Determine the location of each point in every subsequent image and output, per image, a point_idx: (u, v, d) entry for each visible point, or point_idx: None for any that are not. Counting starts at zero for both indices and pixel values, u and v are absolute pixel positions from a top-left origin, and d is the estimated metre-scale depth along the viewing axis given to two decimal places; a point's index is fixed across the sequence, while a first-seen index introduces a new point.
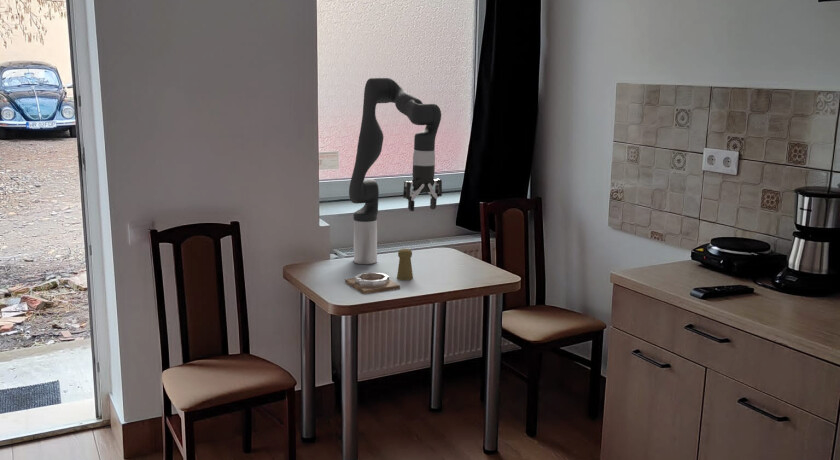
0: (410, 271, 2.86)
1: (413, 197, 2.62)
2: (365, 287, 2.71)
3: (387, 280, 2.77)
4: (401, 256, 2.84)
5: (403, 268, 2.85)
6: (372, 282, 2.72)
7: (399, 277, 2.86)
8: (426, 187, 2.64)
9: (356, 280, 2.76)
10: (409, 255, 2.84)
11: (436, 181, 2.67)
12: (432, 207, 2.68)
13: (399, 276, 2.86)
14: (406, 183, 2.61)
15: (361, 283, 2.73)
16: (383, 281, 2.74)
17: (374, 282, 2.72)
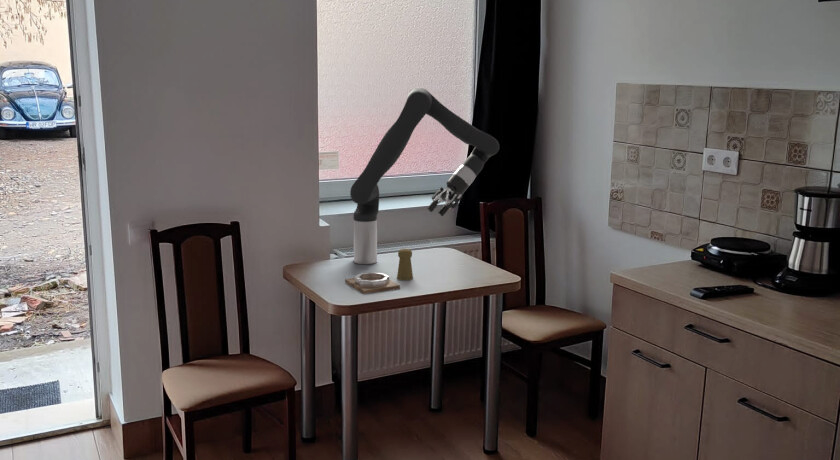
0: (410, 271, 2.86)
1: None
2: (365, 287, 2.71)
3: (387, 280, 2.77)
4: (401, 256, 2.84)
5: (403, 268, 2.85)
6: (372, 282, 2.72)
7: (399, 277, 2.86)
8: None
9: (356, 280, 2.76)
10: (409, 255, 2.84)
11: None
12: (431, 210, 2.92)
13: (399, 276, 2.86)
14: (460, 196, 2.84)
15: (361, 283, 2.73)
16: (383, 281, 2.74)
17: (374, 282, 2.72)
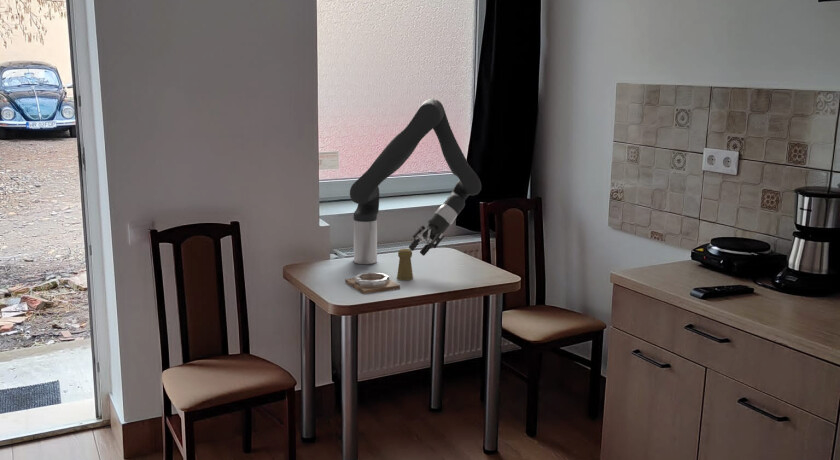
0: (410, 271, 2.86)
1: None
2: (365, 287, 2.71)
3: (387, 280, 2.77)
4: (401, 256, 2.84)
5: (403, 268, 2.85)
6: (372, 282, 2.72)
7: (399, 277, 2.86)
8: None
9: (356, 280, 2.76)
10: (409, 255, 2.84)
11: None
12: (412, 248, 2.92)
13: (399, 276, 2.86)
14: (442, 235, 2.84)
15: (361, 283, 2.73)
16: (383, 281, 2.74)
17: (374, 282, 2.72)
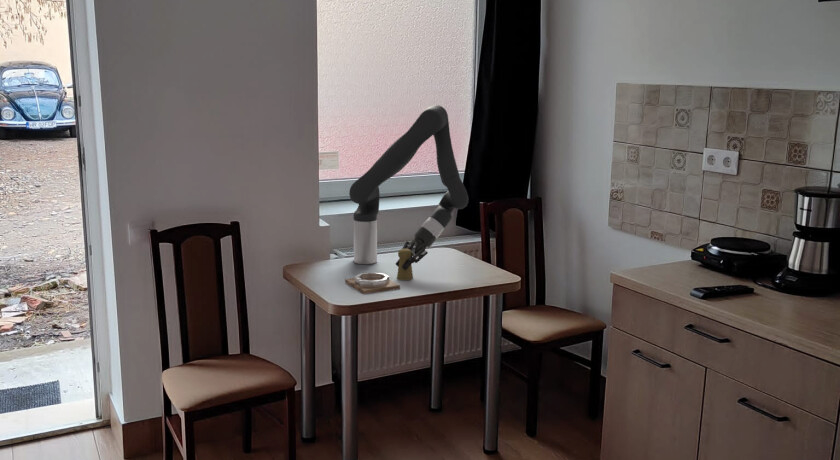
0: (410, 271, 2.86)
1: None
2: (365, 287, 2.71)
3: (387, 280, 2.77)
4: (401, 256, 2.84)
5: None
6: (372, 282, 2.72)
7: (399, 277, 2.86)
8: None
9: (356, 280, 2.76)
10: (409, 255, 2.84)
11: None
12: None
13: (399, 276, 2.86)
14: (425, 252, 2.82)
15: (361, 283, 2.73)
16: (383, 281, 2.74)
17: (374, 282, 2.72)
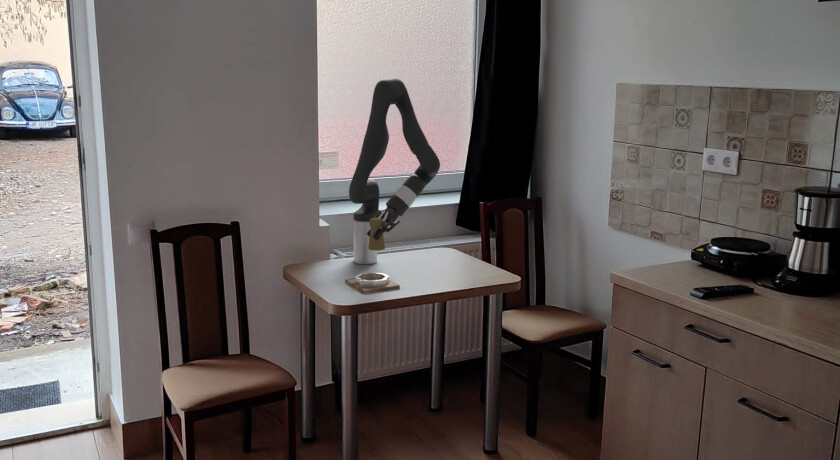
0: (382, 241, 2.74)
1: None
2: (365, 287, 2.71)
3: (387, 280, 2.77)
4: (372, 225, 2.72)
5: None
6: (372, 282, 2.72)
7: (370, 247, 2.74)
8: None
9: (356, 280, 2.76)
10: (380, 224, 2.73)
11: None
12: None
13: (370, 246, 2.74)
14: (397, 221, 2.71)
15: (361, 283, 2.73)
16: (383, 281, 2.74)
17: (374, 282, 2.72)
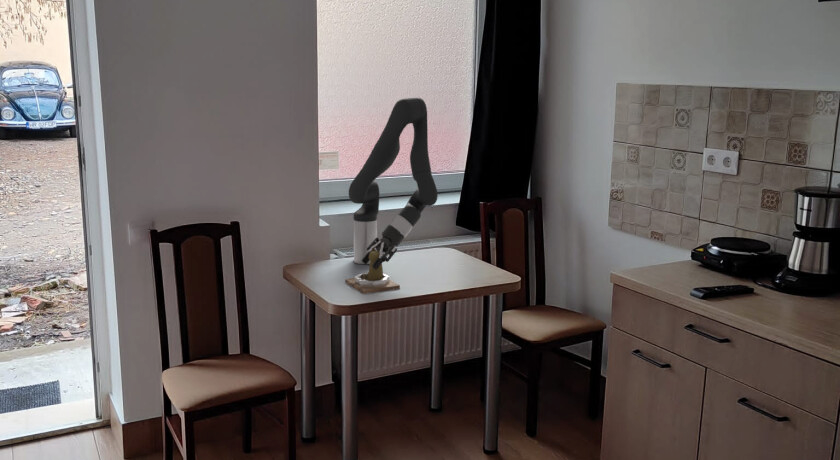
0: (381, 275, 2.76)
1: None
2: (365, 287, 2.71)
3: (387, 280, 2.77)
4: (372, 259, 2.74)
5: (373, 271, 2.75)
6: (372, 282, 2.72)
7: None
8: None
9: (356, 280, 2.76)
10: None
11: None
12: (365, 262, 2.80)
13: (369, 279, 2.76)
14: (395, 249, 2.72)
15: (361, 283, 2.73)
16: (383, 281, 2.74)
17: (374, 282, 2.72)
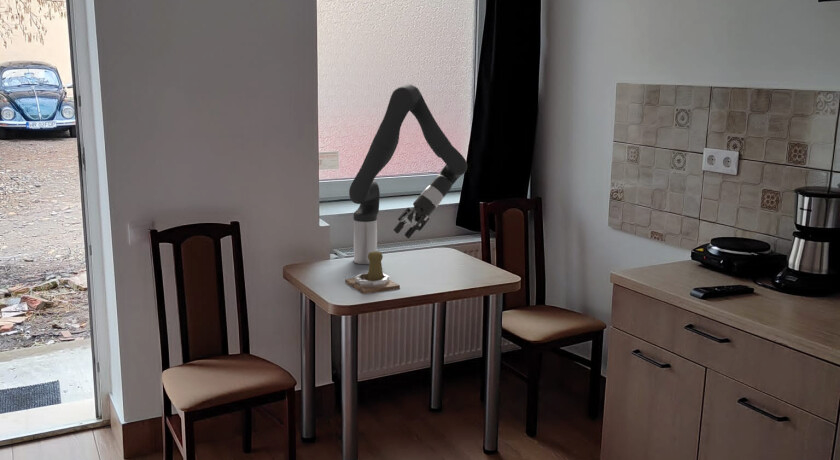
0: (380, 275, 2.76)
1: None
2: (365, 287, 2.71)
3: (387, 280, 2.77)
4: (371, 259, 2.74)
5: (373, 271, 2.75)
6: (372, 282, 2.72)
7: None
8: None
9: (356, 280, 2.76)
10: (379, 258, 2.75)
11: None
12: (397, 231, 2.84)
13: None
14: (427, 218, 2.76)
15: (361, 283, 2.73)
16: (383, 281, 2.74)
17: (374, 282, 2.72)
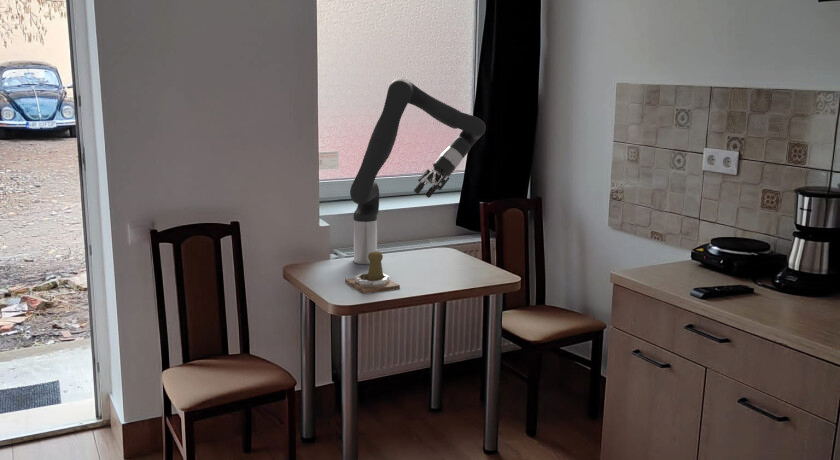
0: (380, 275, 2.76)
1: None
2: (365, 287, 2.71)
3: (387, 280, 2.77)
4: (371, 259, 2.75)
5: (373, 271, 2.75)
6: (372, 282, 2.72)
7: None
8: None
9: (356, 280, 2.76)
10: (379, 258, 2.75)
11: None
12: (417, 192, 2.90)
13: None
14: (447, 177, 2.83)
15: (361, 283, 2.73)
16: (383, 281, 2.74)
17: (374, 282, 2.72)
